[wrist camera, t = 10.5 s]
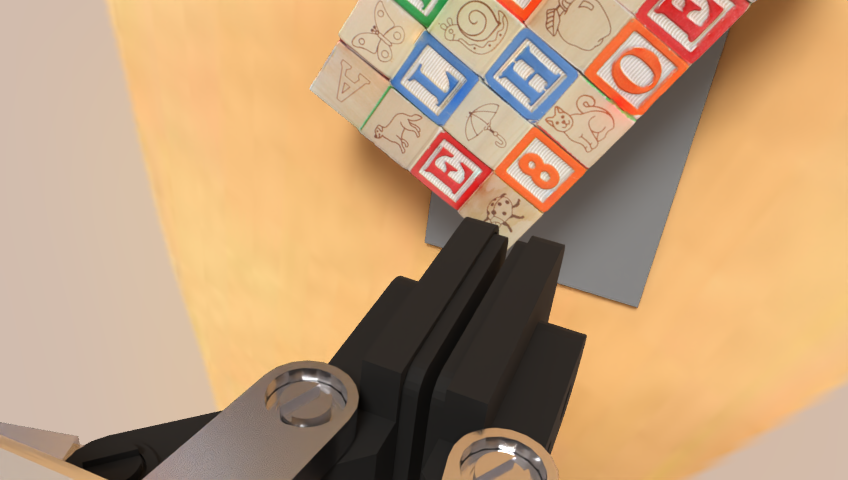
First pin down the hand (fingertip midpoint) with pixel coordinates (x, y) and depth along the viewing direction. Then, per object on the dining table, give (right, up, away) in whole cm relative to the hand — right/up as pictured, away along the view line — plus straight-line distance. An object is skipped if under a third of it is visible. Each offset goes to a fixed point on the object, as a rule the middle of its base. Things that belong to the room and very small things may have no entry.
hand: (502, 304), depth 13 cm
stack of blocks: (+9, +8, +20) cm, 24 cm away
